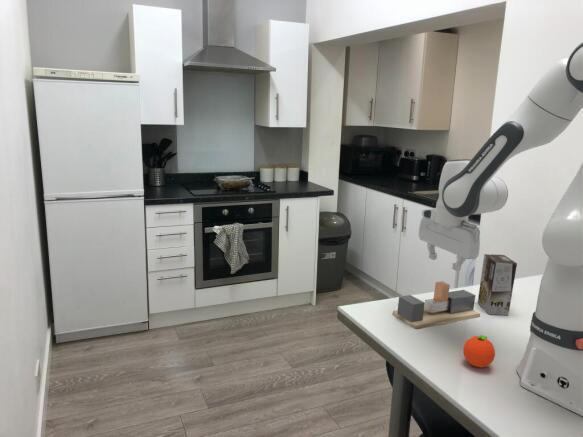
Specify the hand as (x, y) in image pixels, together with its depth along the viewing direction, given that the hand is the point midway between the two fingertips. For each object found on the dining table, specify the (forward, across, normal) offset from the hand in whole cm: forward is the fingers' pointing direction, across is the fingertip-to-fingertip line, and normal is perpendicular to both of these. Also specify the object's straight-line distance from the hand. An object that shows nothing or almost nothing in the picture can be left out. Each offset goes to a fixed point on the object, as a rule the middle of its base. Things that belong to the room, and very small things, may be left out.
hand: (443, 264), depth 135 cm
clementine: (+15, -26, +11) cm, 32 cm away
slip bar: (+13, -1, -3) cm, 14 cm away
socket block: (+14, -1, +11) cm, 18 cm away
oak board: (+15, -1, +1) cm, 15 cm away
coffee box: (+15, -3, -20) cm, 25 cm away
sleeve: (+14, -1, -7) cm, 16 cm away
